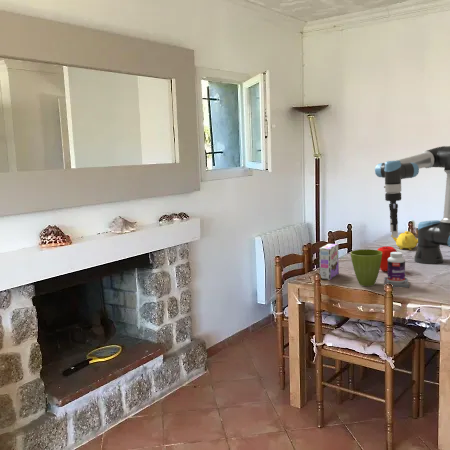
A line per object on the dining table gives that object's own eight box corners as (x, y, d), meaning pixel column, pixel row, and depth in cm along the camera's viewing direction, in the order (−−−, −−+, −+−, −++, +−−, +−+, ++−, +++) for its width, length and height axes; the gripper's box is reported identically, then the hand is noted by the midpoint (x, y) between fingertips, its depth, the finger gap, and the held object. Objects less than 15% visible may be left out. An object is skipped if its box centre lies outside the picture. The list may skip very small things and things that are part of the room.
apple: (398, 274, 265) (398, 248, 263) (374, 273, 269) (374, 248, 267) (398, 268, 276) (398, 244, 274) (376, 267, 280) (376, 244, 278)
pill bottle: (391, 284, 242) (391, 255, 239) (384, 280, 250) (384, 251, 247) (407, 283, 242) (408, 254, 240) (400, 279, 250) (400, 250, 248)
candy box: (330, 280, 259) (329, 248, 257) (319, 279, 262) (318, 248, 260) (339, 273, 271) (338, 243, 268) (328, 272, 274) (328, 243, 271)
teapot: (425, 246, 327) (426, 229, 325) (419, 252, 312) (420, 234, 310) (394, 244, 338) (394, 228, 336) (386, 250, 323) (386, 232, 321)
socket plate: (407, 281, 250) (407, 277, 249) (408, 287, 239) (408, 283, 239) (384, 281, 253) (384, 277, 253) (384, 287, 242) (384, 283, 242)
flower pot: (346, 286, 247) (346, 254, 244) (356, 279, 259) (355, 248, 257) (377, 289, 239) (377, 256, 236) (385, 281, 251) (385, 250, 249)
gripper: (384, 189, 262) (385, 230, 265) (386, 196, 238) (387, 240, 242) (399, 189, 260) (400, 229, 263) (403, 195, 236) (403, 239, 240)
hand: (394, 234), depth 253 cm, fingers open, 13 cm apart
